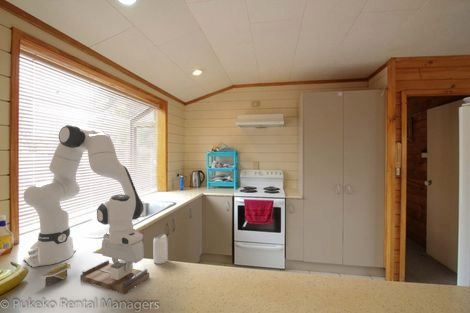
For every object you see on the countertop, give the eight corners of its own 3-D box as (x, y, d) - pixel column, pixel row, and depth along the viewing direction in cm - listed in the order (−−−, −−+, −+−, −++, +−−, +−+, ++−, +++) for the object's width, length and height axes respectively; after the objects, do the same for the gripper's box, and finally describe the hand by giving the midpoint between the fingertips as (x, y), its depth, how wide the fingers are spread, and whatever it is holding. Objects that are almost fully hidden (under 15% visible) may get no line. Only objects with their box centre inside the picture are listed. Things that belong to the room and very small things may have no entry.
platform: (89, 273, 95) (89, 258, 95) (40, 299, 79) (40, 281, 79) (71, 269, 100) (71, 254, 100) (21, 292, 83) (21, 275, 83)
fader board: (80, 280, 90) (80, 271, 90) (107, 266, 101) (107, 258, 101) (124, 294, 80) (124, 284, 80) (149, 277, 91) (149, 268, 91)
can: (163, 265, 101) (162, 239, 101) (150, 263, 103) (150, 238, 103) (170, 258, 108) (169, 234, 108) (158, 257, 109) (157, 233, 109)
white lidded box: (110, 278, 86) (110, 265, 86) (125, 269, 93) (125, 257, 93) (118, 280, 85) (117, 267, 85) (132, 271, 91) (132, 259, 91)
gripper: (96, 234, 90) (97, 268, 90) (133, 241, 82) (134, 277, 82) (110, 229, 96) (111, 261, 96) (146, 235, 88) (146, 269, 88)
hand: (122, 269), depth 89 cm, fingers closed on white lidded box, 4 cm apart
